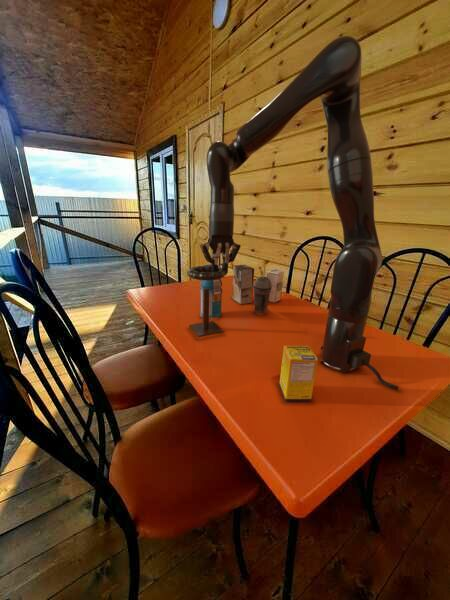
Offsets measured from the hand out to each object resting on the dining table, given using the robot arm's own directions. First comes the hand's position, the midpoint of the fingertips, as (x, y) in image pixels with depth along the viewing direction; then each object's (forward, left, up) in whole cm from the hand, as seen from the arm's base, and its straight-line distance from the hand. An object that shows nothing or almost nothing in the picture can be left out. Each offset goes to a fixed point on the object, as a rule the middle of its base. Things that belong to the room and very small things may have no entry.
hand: (219, 275), depth 83 cm
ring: (0, +5, +1) cm, 5 cm away
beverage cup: (+7, -22, -20) cm, 31 cm away
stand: (0, +5, -20) cm, 20 cm away
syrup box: (+19, -37, -20) cm, 46 cm away
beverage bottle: (+12, -2, -20) cm, 23 cm away
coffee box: (+24, -23, -20) cm, 39 cm away
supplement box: (-37, -2, -20) cm, 42 cm away
